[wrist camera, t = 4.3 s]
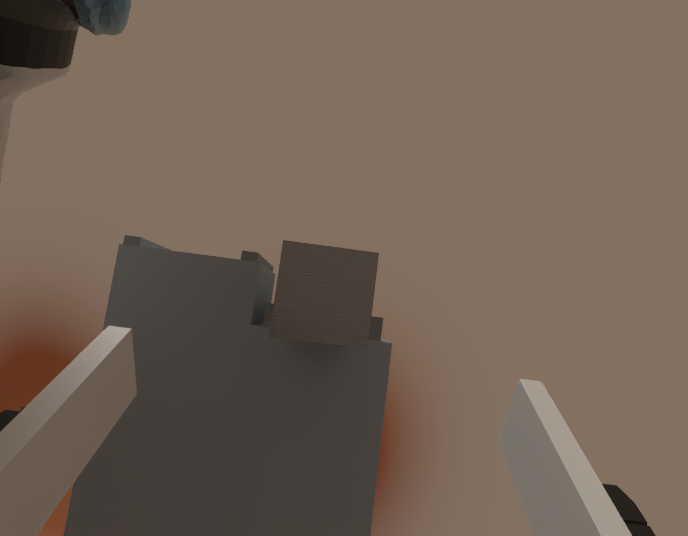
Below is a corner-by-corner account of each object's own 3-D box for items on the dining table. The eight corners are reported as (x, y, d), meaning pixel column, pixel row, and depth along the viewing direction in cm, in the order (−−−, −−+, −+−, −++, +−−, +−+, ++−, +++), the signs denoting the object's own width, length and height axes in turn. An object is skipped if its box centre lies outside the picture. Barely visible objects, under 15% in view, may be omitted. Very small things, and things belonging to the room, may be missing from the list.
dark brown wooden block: (369, 350, 18) (381, 248, 18) (266, 336, 18) (281, 235, 18) (345, 331, 42) (351, 287, 42) (301, 325, 41) (307, 281, 42)
